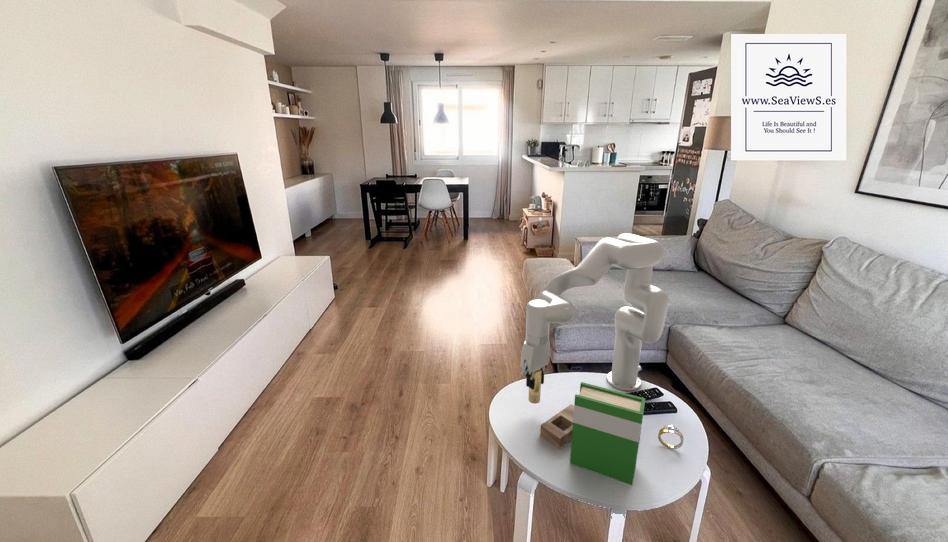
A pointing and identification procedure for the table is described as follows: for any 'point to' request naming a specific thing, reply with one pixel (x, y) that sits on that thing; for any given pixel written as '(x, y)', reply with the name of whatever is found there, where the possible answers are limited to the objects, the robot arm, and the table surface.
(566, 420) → the eye block
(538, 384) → the peg
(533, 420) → the table surface
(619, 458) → the hardback book
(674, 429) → the ring
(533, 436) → the table surface
